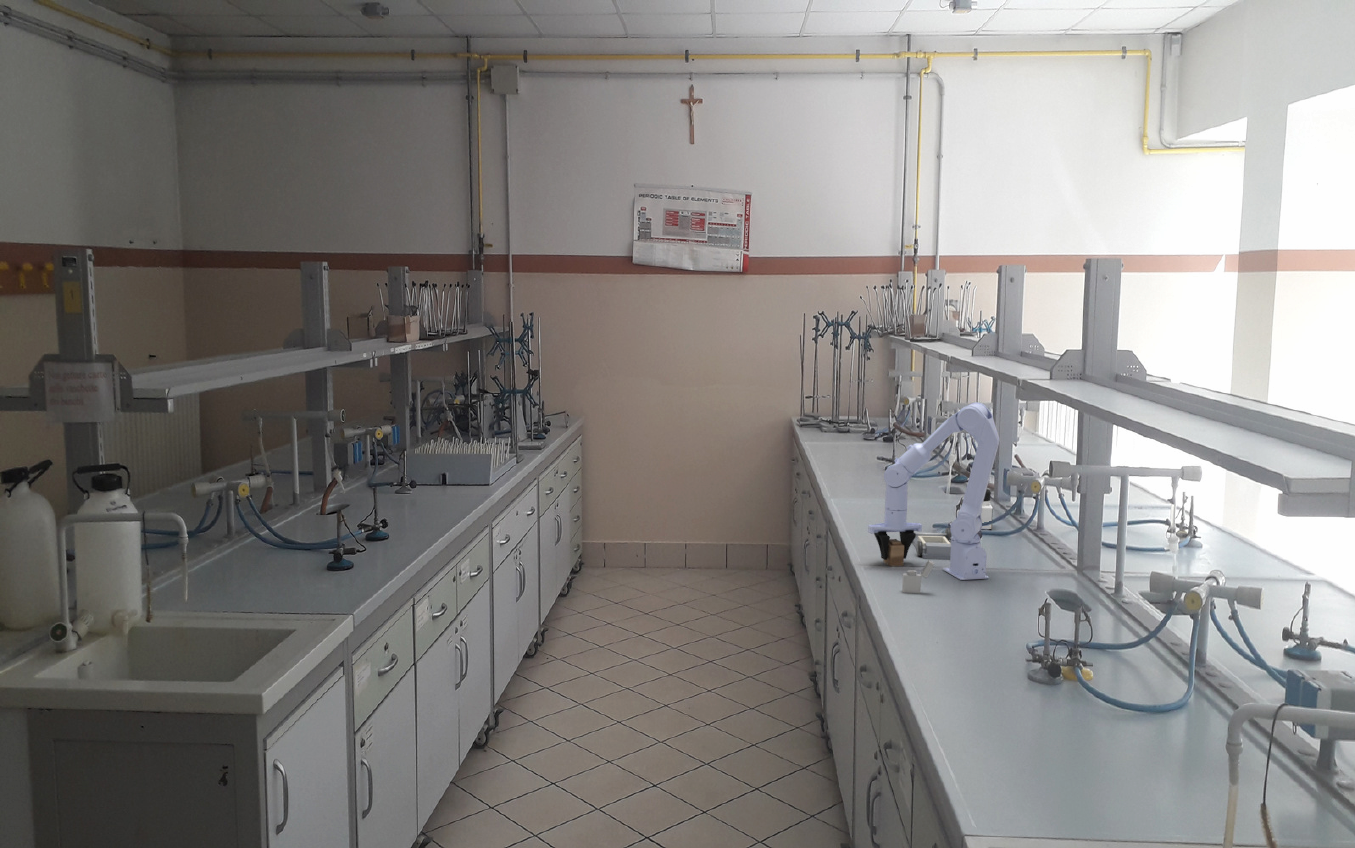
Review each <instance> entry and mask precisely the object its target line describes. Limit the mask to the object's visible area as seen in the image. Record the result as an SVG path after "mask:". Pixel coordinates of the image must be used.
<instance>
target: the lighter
mask: <svg viewBox="0 0 1355 848" xmlns="http://www.w3.org/2000/svg"><path fill="white" fill-rule="evenodd" d="M934 566H935V562H934V561H932V560H931V559H928V560H927V561H926V563H925V565H924V566H923V569H922V570H921V572H920V573H917V570H914V569H912V570H911V569H908V570H907V571H906V573H902V588H901V589H902V590H901V591H902V593H905V594H906V593H907V594H921V590H922V589H921V587H922V578H924V579H927V578H928V576H929V574H930V572H931V571H932V570H933V568H934Z"/></svg>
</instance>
